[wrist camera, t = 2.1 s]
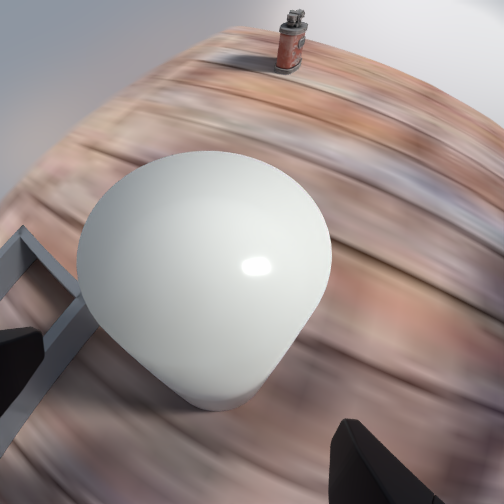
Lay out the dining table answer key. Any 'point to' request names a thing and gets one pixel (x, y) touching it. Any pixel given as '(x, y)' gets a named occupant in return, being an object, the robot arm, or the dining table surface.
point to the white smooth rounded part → (205, 271)
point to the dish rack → (55, 340)
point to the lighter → (291, 43)
